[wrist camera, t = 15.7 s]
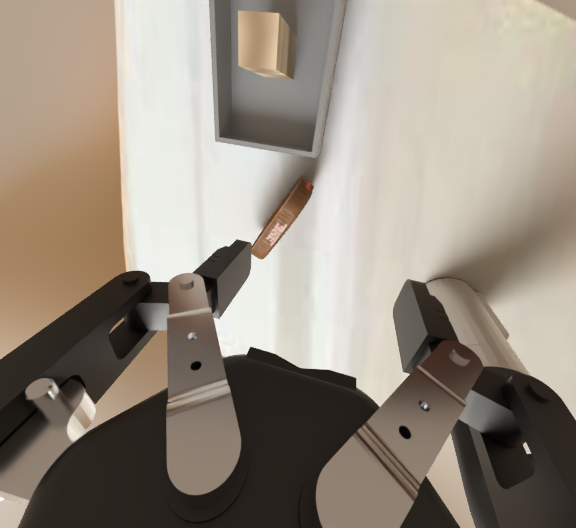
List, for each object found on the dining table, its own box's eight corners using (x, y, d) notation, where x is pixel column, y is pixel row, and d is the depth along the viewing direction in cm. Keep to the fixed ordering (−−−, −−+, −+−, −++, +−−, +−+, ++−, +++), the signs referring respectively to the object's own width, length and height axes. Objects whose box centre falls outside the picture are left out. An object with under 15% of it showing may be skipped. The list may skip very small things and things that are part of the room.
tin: (305, 169, 37) (293, 182, 30) (321, 182, 37) (313, 197, 30) (257, 236, 45) (239, 258, 38) (271, 246, 45) (255, 270, 38)
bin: (357, -62, 24) (358, -99, 20) (320, 153, 35) (315, 158, 31) (228, -67, 26) (204, -102, 22) (231, 138, 37) (215, 141, 33)
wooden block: (297, 37, 28) (279, 13, 22) (293, 79, 30) (275, 69, 24) (265, 35, 29) (237, 10, 22) (263, 76, 31) (238, 65, 24)
